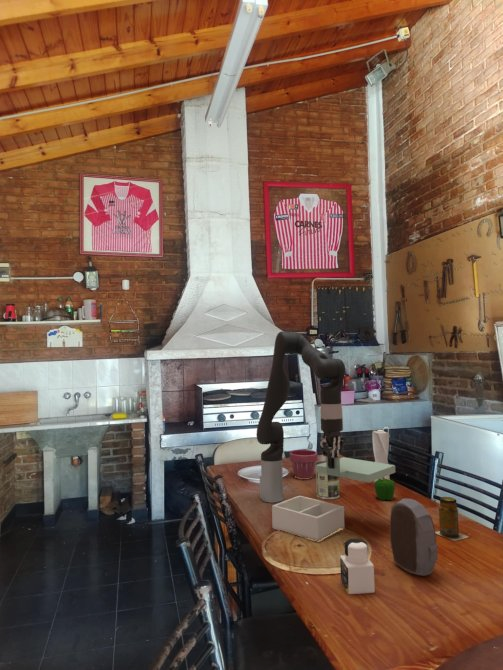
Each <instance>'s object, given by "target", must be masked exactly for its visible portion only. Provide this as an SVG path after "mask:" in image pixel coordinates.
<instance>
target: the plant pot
mask: <svg viewBox="0 0 503 670" xmlns="http://www.w3.org/2000/svg"><path fill="white" fill-rule="evenodd" d="M289 460H290V461H291V465H292V470H293V474H294V477H295V476H296V477H299V478H310V477H313V478H314V473H315V470H316V465H315V463H317V461H318V452H317V451H316V450H311V449H294V450H293V449H292V450H291V451H290V452H289Z"/></svg>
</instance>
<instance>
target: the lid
mask: <svg viewBox="0 0 503 670" xmlns="http://www.w3.org/2000/svg"><path fill="white" fill-rule="evenodd" d="M325 461H326V462H325V463H322V464H318V465H315V473H316V472H317V473H322V474H327V475H332V476H337V477H339V478H344V479H350V480H355V481H359V482H365V483H371V482H375V480H377V479H379V478H382V477H385V476H387V475H389V476H390V475H392V474H395V473H396V465H394V464H389V463H388V464H384V463H377V462H375V461H372V460H371V461H370V460H363V459H356V458H351V457H344V456H343V457H338V458H337V457H334V469H330V468H328V458H327V456H325Z"/></svg>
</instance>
